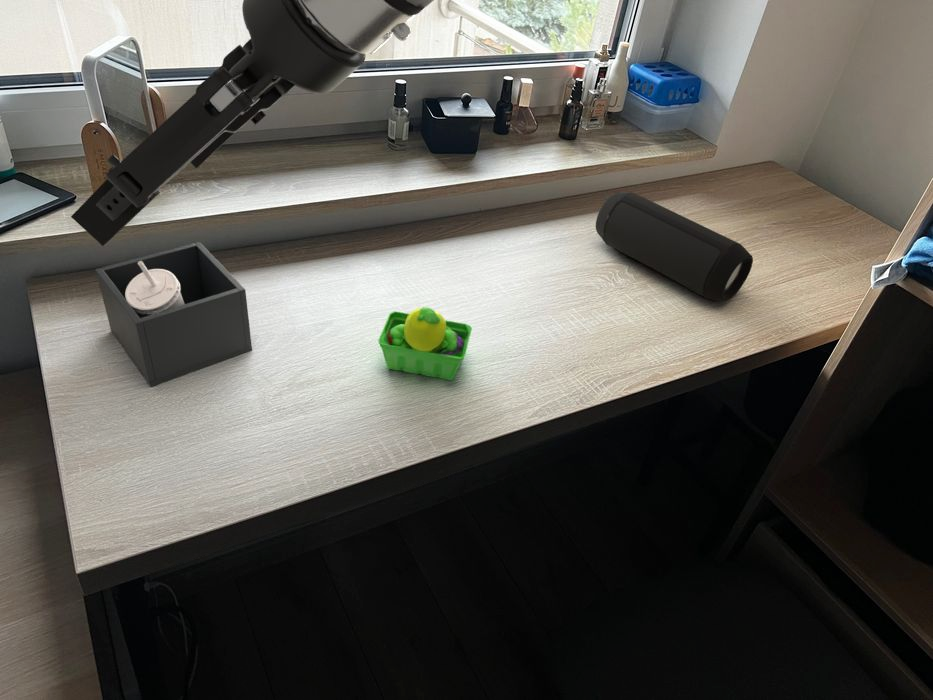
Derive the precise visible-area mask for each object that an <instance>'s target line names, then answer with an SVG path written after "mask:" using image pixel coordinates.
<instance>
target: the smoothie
mask: <svg viewBox="0 0 933 700" xmlns="http://www.w3.org/2000/svg"><path fill="white" fill-rule="evenodd" d="M138 265H139V266H140V268H141V270H142V271H143V272H142V273H141V274H139V275H137V276H136V277H135V278H133V279H132V280H131V282H130V283H129V284H128V286H127V288H126V292H125V298H126V301H127V302H128V303H129V305H130V306H131V307H132V309H133V310H134V311H135V312H137V313H140V314H141V315H142V316H143V317H146V316H149V315H152V314H156V313H159V312H162V311H165V310H168V309H172V308H175V307H178V306H181V305H185V304H184V301H183V298H182V296H181V293H180V289H181V288H180V283H179V281H178V280H177V279H176V277H175V276H174V274H172V273H171V272H169V271H167V270H164V269H152V270H147V268H146V267H145V265H144V263H143V262H142V261H139V262H138Z"/></svg>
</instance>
